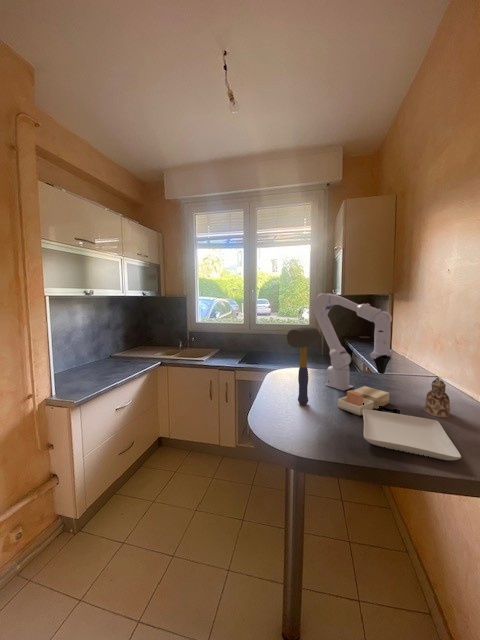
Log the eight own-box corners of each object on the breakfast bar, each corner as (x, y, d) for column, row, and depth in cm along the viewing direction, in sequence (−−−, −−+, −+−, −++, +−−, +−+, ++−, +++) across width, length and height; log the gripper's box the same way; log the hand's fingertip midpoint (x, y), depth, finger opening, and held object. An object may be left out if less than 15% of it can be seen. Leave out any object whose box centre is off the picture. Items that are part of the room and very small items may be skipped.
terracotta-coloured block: (350, 402, 98) (346, 404, 96) (350, 390, 97) (346, 391, 96) (363, 407, 94) (359, 409, 92) (363, 394, 93) (359, 395, 92)
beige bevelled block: (351, 400, 102) (352, 390, 102) (363, 395, 107) (364, 385, 107) (377, 408, 94) (377, 398, 94) (389, 402, 99) (389, 392, 99)
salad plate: (437, 429, 80) (437, 418, 80) (462, 470, 61) (463, 456, 60) (362, 417, 89) (362, 407, 88) (363, 450, 69) (363, 437, 69)
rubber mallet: (305, 397, 106) (305, 325, 103) (320, 403, 100) (322, 326, 98) (284, 405, 98) (285, 327, 96) (300, 411, 92) (301, 329, 90)
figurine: (423, 413, 90) (424, 380, 89) (425, 406, 95) (426, 375, 95) (449, 419, 85) (451, 384, 85) (449, 411, 91) (451, 378, 90)
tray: (337, 407, 96) (337, 399, 96) (351, 401, 101) (351, 394, 101) (359, 415, 89) (360, 407, 88) (373, 409, 94) (373, 401, 94)
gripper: (383, 344, 98) (382, 378, 99) (400, 340, 106) (399, 372, 108) (365, 341, 104) (364, 374, 105) (383, 338, 112) (382, 368, 113)
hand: (381, 373), depth 107 cm, fingers closed
